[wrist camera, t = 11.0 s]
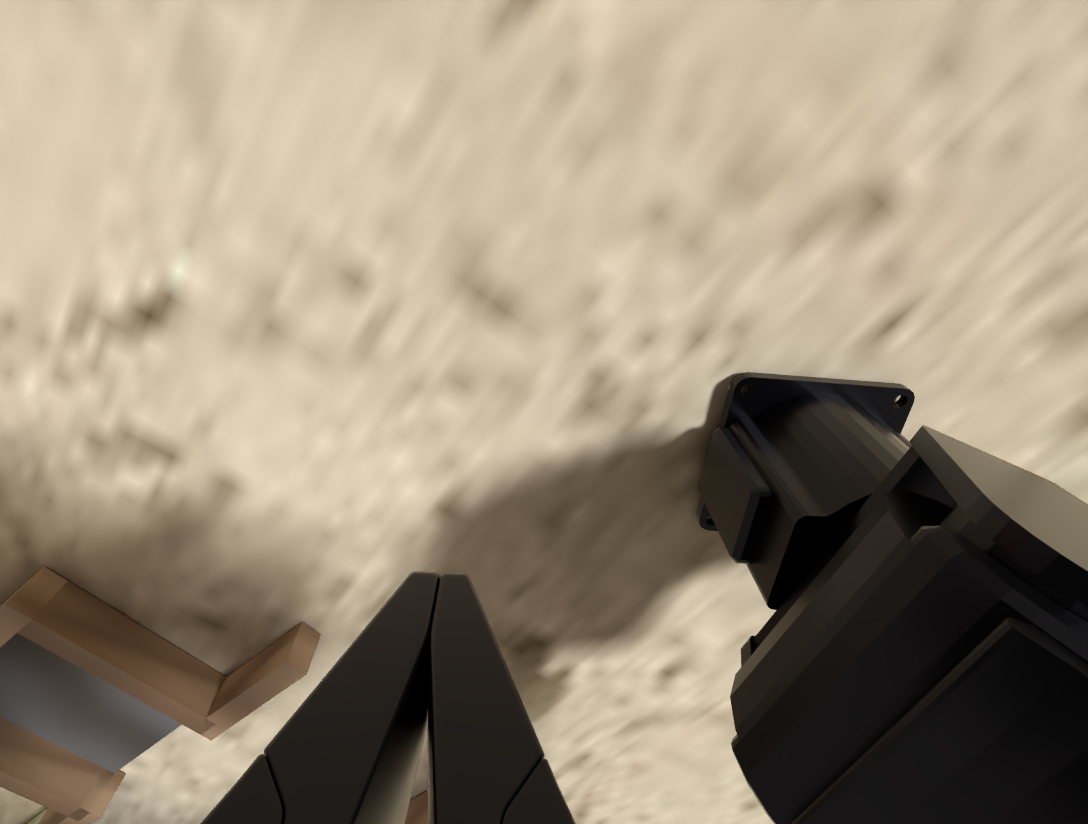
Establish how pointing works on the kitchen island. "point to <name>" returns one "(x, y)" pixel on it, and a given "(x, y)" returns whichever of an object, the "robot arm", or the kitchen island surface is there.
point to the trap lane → (113, 696)
